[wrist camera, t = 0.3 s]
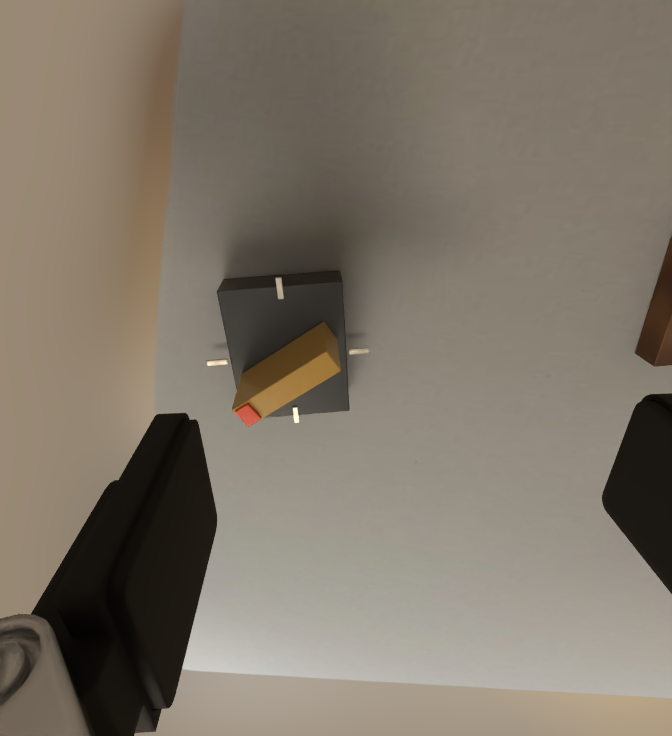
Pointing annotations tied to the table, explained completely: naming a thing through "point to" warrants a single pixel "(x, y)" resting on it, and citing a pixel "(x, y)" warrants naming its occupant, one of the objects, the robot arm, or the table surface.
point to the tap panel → (285, 329)
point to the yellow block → (287, 374)
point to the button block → (659, 320)
